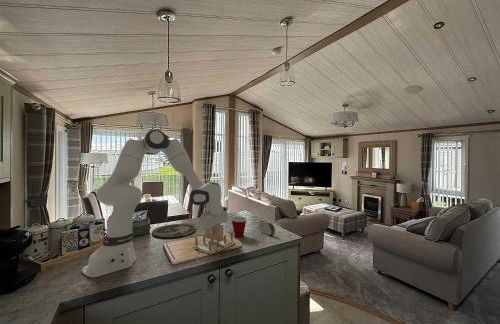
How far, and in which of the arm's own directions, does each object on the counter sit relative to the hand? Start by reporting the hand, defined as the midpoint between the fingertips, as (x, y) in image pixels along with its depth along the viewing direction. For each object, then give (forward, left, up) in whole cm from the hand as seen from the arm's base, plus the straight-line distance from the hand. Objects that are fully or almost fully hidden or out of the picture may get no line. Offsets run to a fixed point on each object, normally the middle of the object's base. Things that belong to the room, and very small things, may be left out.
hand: (214, 233), depth 134 cm
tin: (+35, -14, -8) cm, 38 cm away
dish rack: (0, 0, -7) cm, 7 cm away
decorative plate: (+3, +42, -8) cm, 43 cm away
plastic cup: (+21, -2, -8) cm, 22 cm away
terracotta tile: (0, 0, -4) cm, 4 cm away
